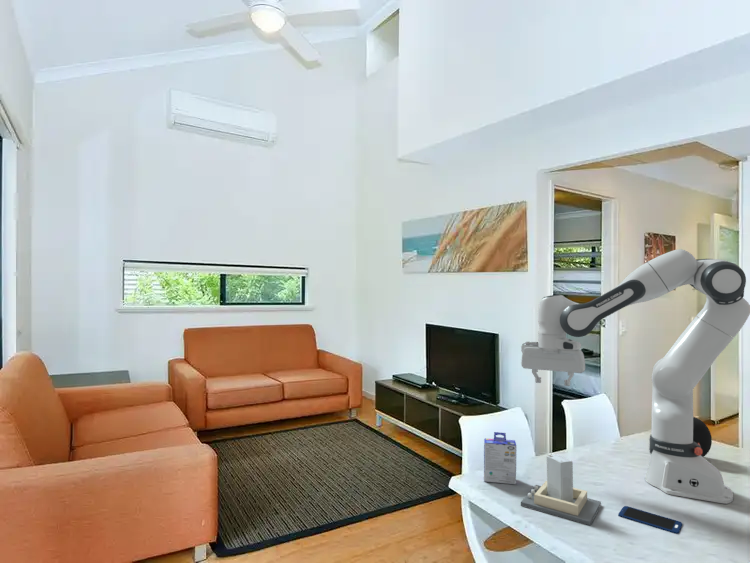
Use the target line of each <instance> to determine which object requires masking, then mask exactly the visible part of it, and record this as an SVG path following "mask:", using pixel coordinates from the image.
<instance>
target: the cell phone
mask: <svg viewBox="0 0 750 563" xmlns="http://www.w3.org/2000/svg"><path fill="white" fill-rule="evenodd" d="M618 517H620V518H623V519H626V520H629V521H633V522H636V523H638V524H642V525H646V526H648V527H649V526H650V527H652V528H655V529H658V530H662V531H666V532H669V533H672V534H675V535H679V533H680V532H681V530H682V527H683V522H682V521H680V520H677V519H672V518H669V517H666V516H663V515H658V514H656V513H653V512H649V511H646V510H642V509H639V508H635V507H632V506H630V505H629V506H628V505H624V506H623V507H622V508H621V509H620V511H619V512H618Z"/></svg>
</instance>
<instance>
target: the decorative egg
mask: <svg viewBox="0 0 750 563" xmlns="http://www.w3.org/2000/svg"><path fill="white" fill-rule="evenodd" d="M693 441H694V442H696V443H697V444H698V443H699V444H700V446H701V449H702V451H703V453H702V454H701V456H702V457H704V458H705V456H707V454H708V453H709V452H710V450H711V448H712V443H713V438H712V434H711V430H710V429H709V427H708V426H707V424H706V423H705V422H703V420H702V419H700V418H697V417H696V416H693Z"/></svg>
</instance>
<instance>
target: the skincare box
mask: <svg viewBox="0 0 750 563" xmlns="http://www.w3.org/2000/svg"><path fill="white" fill-rule="evenodd" d="M573 468H574V467H573V461H572V460H571V459H569V458H567V457H564V456H563V455H560V454H558V453H556V454H550V455H549V454H548V455H546V481H547V496H549V497H553V498H556V499H560V500H564V501H567V502H571V503H573V488H574V479H573V478H574V477H573V474H574V471H573Z"/></svg>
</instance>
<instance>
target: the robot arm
mask: <svg viewBox="0 0 750 563" xmlns="http://www.w3.org/2000/svg"><path fill="white" fill-rule="evenodd" d="M746 284H747V277H746V273H745V272H744V270H743V269H742V268H741V267H740V266H739V265H738V264H736V263H734V262H731V261H728V260H725V259H721V258H698V259H696V257H695V256H694V255H693V254H692V253H691V252H689V251H687V250H685V249H682V248H679V249H678V248H677V249H674V250H671V251H668V252H665V253H662V254H661V255H658V256H656V257H655V258H652V259H651V260H647V261H646V262H644V263H642V264H641V265H640V266H638V267H637V268H635V269H634V270H633V271H631V272H630V273H629V274H628V275H627V276H626V277H625V278H624V279H623V280H622V281H621V282H619V284H618V285H617V286H615V287H614V288H612V289H610V290H609V291H607V292H605V293H604V294H602V295H600V296H598V297H596V298H594V299H592V300H590V301H588V302H585V303H579V302H576V301H572V300H571V299H568V298H567V297H565V296H564V295H562V294H552V295H547V296H543V297H542V298H541V299H540V300H539V302H538V310H537V322H538V332H537V333H538V334H537V340H538V341H526V342H523V343H522V345H521V346H520V347H521V353H522V354H521V362H520V364H521V367H522V368H523V369H526V370H531V373H532V375H533V377H534V379H535V384H536V383H537V384H541V383H542V377H540V376H539V375H538V372H539V371H540V370H541V371H552V372H563V373H567V376H568V378H567V379H564V384H563V385H564V387H565V386H566V387H569V386H570V387H571V380H573V379H572V378H573V377H574V376H575V374H582V373H584V372H585V370H586V359H585V354H584V352H583V351H582V350H581V348H582V344H581V342H579V341H576V340H573V339H570V338H568V337H567V335H569V336H571V337H575V338H581V337H582V338H583V337H584V336H587V335H589V334H590V333H592V331H593V330H594V328H595V327H596V325H597V324H599V322H600V321H602V320H603V319H606V318H607V317H609V316H611V315H613V314H615V313H616V312H618V311H620V310H622V309H624V308H626V307H628V306H632V305H635V304H640V303H645V302H648V301H651V300H654V299H658V298H660V297H662V296H664V295H666V294H668V293H670V292H672V291H674V290H676V289H677V288H679V287H683V286H686V285H689V286H691V288H693V289H695V290H696V291H698V292H699V293H701V294H703V295H705V297H706V298H705V303H704V305H703V307H702V309H701V310H700V311H699V312H698V313H697V314H696V316H694V318H693V319H692V321H690V323H689V324H687V327H686V328H685V329H684V330H683V331H682V332H681V333H680V335H679V336H678V338H677V339H676V341H674V343H673V344H672V346H671V347H670V349H669V350H668V351H667V352H666V354H665V355H664V357H662V358H660V359H658V360H657V361H656V362H655V364H654V365H653V368H652V372H651V373H652V374H651V383H652V387H651V388H652V389H651V392H652V393H651V426H650V427H651V431H650V432H651V434H650V435H649V438H648V440H649V443H648V451H649V454H650V456H649V461H648V466H647V470H646V473H645V476H644V480H645V481H646V482H647V483H648V484H649V485H651V486H653V487H655V488H658V489H659V490H661V491H662V492H663V493H665V494H667V495H671V496H677V497H678V496H679V497H684V498H690V499H696V500H700V501H701V500H702V501H708V502H712V503H719V504H725V505H726V504H730V503H731V502H732V503H733V501H734V493H733V490H732V489H731V488H730V487H729V486H727V485H726V484H725V482H724V478H723V476H722V473H721V471H720V470H719V468H717V467H716V466H715V465H714V464H712V463H711V462H710V461H708V460H707V459H706V458H705V456H704V457H702V456H701V454H702V453H703V451H702V449H701V446H700V444H699V443H698V444H697V443H696V442H694V441H693V417H694V389H695V387H696V386H697V385H698V384H699V382H700V381H701V379H703V377H704V376H705V374H706V373H707V372H708V370H709V369H710V368H711V366H712V365H713V363H715V361H716V359H717V358H718V357H719V356H720V354H722V353H723V351H724V350H725V349H726V348H727V347H728V346H729V344H730V343H731V342H732V341H733V340H734V338H735V337H736V336H737V335H738V333H739V332H740V331H741V329H742V328H743V327H744V325H745V324H746V322H747V320H748V319H749V316H750V304H749V302H748V301H747V299H745V288H746Z"/></svg>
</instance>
